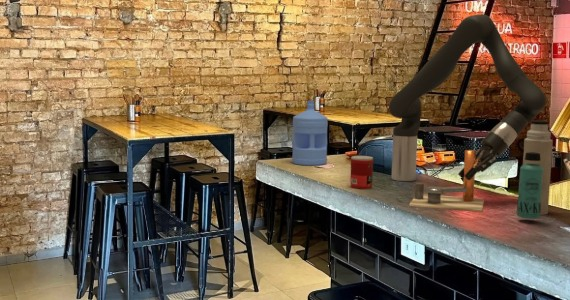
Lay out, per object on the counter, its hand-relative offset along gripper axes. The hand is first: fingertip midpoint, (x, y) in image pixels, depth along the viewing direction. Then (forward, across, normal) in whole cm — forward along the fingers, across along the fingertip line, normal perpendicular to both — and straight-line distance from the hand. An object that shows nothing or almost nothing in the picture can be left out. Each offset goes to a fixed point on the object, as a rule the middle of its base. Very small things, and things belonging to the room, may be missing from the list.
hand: (463, 177), depth 209 cm
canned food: (+22, -32, -11) cm, 40 cm away
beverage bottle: (+2, +27, +11) cm, 29 cm away
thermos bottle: (-5, +16, +17) cm, 24 cm away
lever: (+9, 0, +2) cm, 9 cm away
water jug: (+25, -90, -14) cm, 95 cm away
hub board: (+10, 0, +2) cm, 10 cm away
